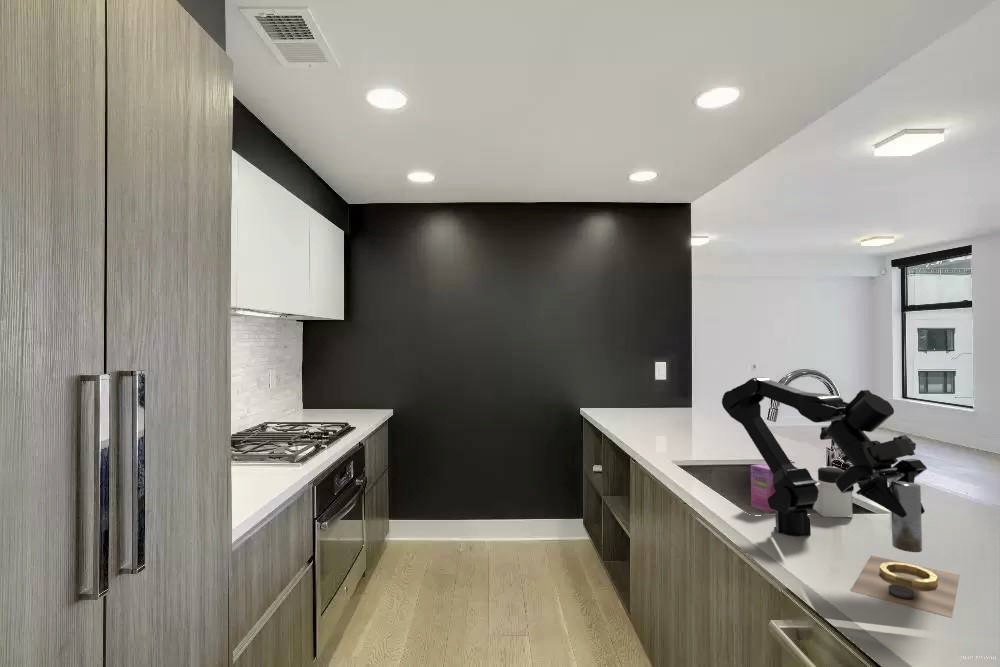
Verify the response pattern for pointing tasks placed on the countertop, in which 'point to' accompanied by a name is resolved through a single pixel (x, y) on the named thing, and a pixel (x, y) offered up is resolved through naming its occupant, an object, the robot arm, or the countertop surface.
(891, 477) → the robot arm
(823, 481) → the medicine bottle
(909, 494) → the steel peg
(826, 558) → the countertop surface
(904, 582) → the brass ring
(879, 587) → the board
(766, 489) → the box
